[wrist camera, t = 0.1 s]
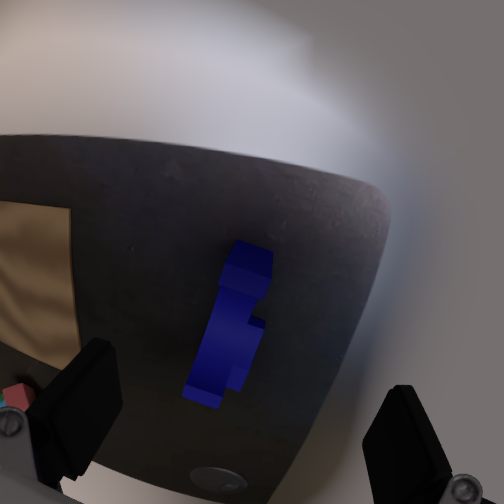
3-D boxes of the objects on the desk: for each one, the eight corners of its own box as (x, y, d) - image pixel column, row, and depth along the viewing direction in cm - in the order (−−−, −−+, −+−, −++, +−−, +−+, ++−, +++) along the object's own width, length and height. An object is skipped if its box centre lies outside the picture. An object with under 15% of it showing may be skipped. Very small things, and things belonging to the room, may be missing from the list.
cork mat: (-33, 196, 26) (-35, 197, 25) (71, 208, 25) (68, 208, 25) (-13, 332, 31) (-14, 333, 31) (87, 377, 31) (86, 379, 30)
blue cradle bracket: (243, 371, 28) (235, 414, 22) (198, 355, 28) (181, 396, 22) (290, 258, 25) (294, 287, 19) (237, 239, 25) (224, 262, 19)
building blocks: (62, 387, 38) (7, 405, 33) (42, 374, 32) (-19, 394, 26) (80, 432, 35) (22, 449, 29) (60, 428, 28) (-4, 446, 23)
